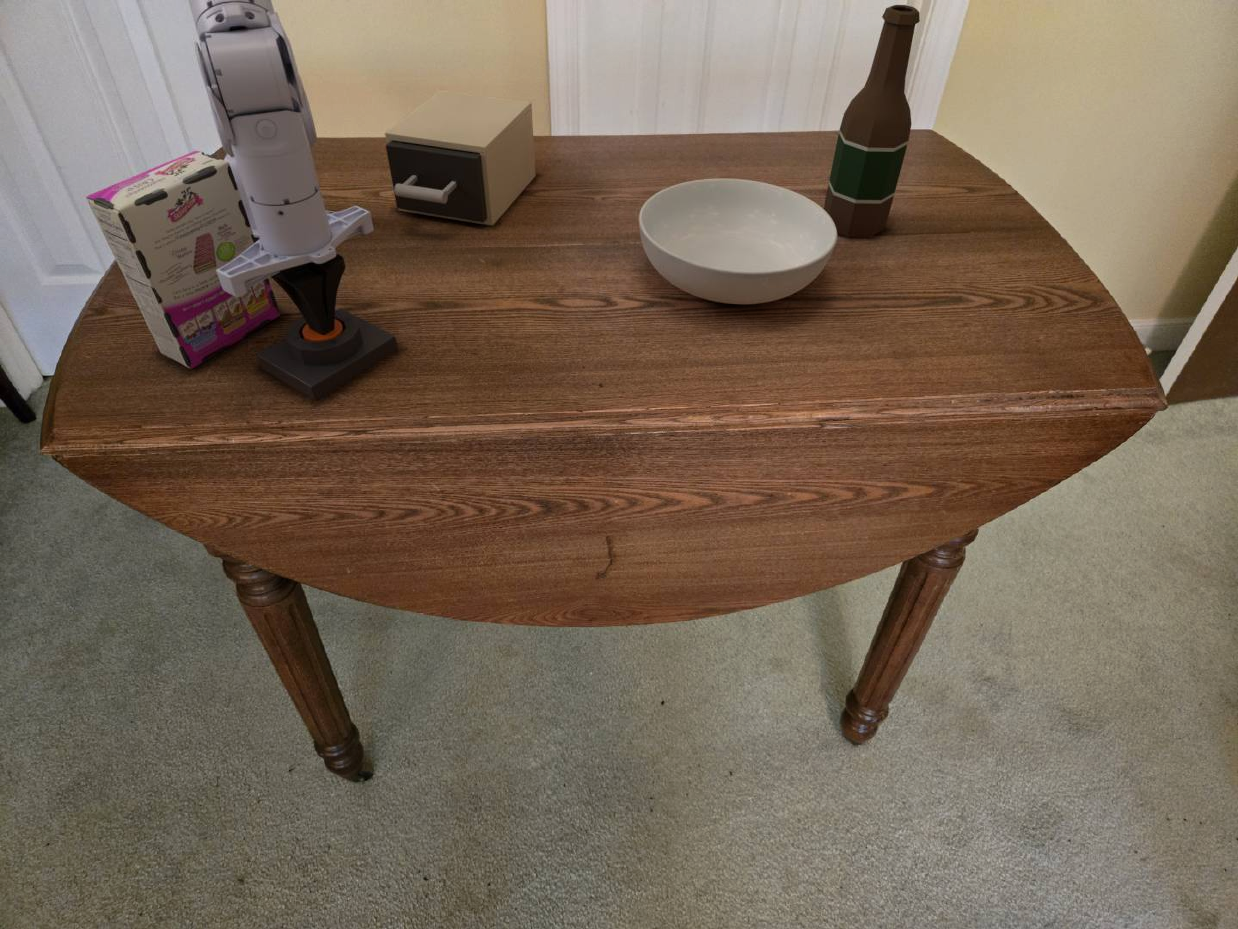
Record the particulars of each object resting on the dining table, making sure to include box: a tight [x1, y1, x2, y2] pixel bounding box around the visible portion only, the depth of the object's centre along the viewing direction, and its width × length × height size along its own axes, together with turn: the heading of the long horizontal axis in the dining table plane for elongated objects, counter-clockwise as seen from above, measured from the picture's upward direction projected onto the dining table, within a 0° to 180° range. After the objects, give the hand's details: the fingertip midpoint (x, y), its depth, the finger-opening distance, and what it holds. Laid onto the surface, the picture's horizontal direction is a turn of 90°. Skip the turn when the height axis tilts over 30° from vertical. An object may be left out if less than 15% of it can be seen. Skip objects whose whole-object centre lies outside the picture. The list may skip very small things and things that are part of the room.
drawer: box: [385, 141, 487, 222], centre depth 99 cm, size 18×11×8 cm, turn 163°
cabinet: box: [384, 89, 536, 227], centre depth 102 cm, size 15×13×10 cm
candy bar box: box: [85, 150, 281, 370], centre depth 76 cm, size 11×5×16 cm, turn 148°
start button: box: [302, 319, 344, 342], centre depth 77 cm, size 4×4×2 cm
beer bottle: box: [823, 4, 921, 239], centre depth 92 cm, size 8×8×24 cm
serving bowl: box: [638, 178, 838, 305], centre depth 89 cm, size 21×21×7 cm
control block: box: [256, 308, 399, 402], centre depth 78 cm, size 10×8×4 cm
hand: (322, 328), depth 76 cm, fingers closed, pressing on start button
